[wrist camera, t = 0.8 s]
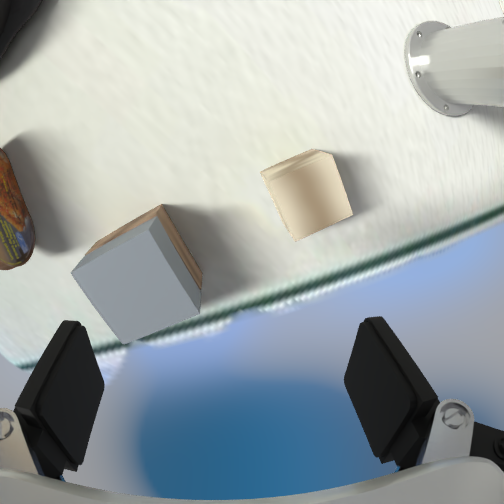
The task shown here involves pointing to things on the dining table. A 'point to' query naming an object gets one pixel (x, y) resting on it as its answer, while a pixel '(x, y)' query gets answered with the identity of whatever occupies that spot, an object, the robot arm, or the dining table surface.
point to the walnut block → (170, 231)
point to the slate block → (139, 282)
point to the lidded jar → (502, 4)
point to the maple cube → (307, 192)
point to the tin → (13, 220)
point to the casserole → (14, 19)
